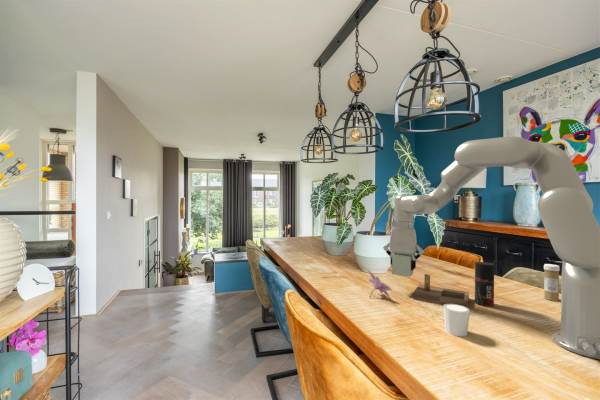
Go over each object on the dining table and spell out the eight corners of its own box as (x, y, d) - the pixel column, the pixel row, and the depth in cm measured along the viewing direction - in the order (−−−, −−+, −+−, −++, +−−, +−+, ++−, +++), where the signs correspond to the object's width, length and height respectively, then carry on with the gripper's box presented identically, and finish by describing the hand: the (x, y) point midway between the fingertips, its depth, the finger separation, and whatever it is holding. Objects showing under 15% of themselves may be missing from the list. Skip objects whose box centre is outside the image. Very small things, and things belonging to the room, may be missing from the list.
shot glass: (445, 324, 86) (445, 301, 86) (471, 331, 82) (471, 307, 82) (440, 332, 81) (440, 308, 81) (467, 340, 76) (467, 314, 76)
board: (467, 309, 98) (467, 285, 98) (413, 298, 108) (413, 277, 108) (468, 298, 109) (469, 276, 109) (419, 289, 119) (419, 270, 119)
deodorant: (485, 307, 100) (485, 265, 100) (470, 301, 106) (471, 262, 106) (497, 306, 101) (498, 264, 101) (483, 300, 107) (483, 261, 107)
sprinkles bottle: (560, 300, 108) (561, 265, 108) (557, 302, 106) (557, 266, 106) (545, 296, 112) (546, 263, 112) (541, 298, 110) (542, 264, 110)
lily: (391, 307, 102) (400, 282, 105) (361, 292, 104) (370, 268, 107) (383, 305, 114) (391, 283, 116) (356, 292, 116) (364, 270, 118)
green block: (409, 277, 111) (410, 256, 111) (391, 274, 115) (392, 254, 114) (413, 273, 117) (413, 254, 117) (396, 270, 120) (396, 252, 120)
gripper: (379, 224, 117) (379, 267, 117) (424, 227, 107) (423, 273, 108) (385, 223, 123) (384, 263, 123) (428, 226, 114) (427, 269, 114)
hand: (402, 267), depth 116 cm, fingers closed on green block, 7 cm apart
